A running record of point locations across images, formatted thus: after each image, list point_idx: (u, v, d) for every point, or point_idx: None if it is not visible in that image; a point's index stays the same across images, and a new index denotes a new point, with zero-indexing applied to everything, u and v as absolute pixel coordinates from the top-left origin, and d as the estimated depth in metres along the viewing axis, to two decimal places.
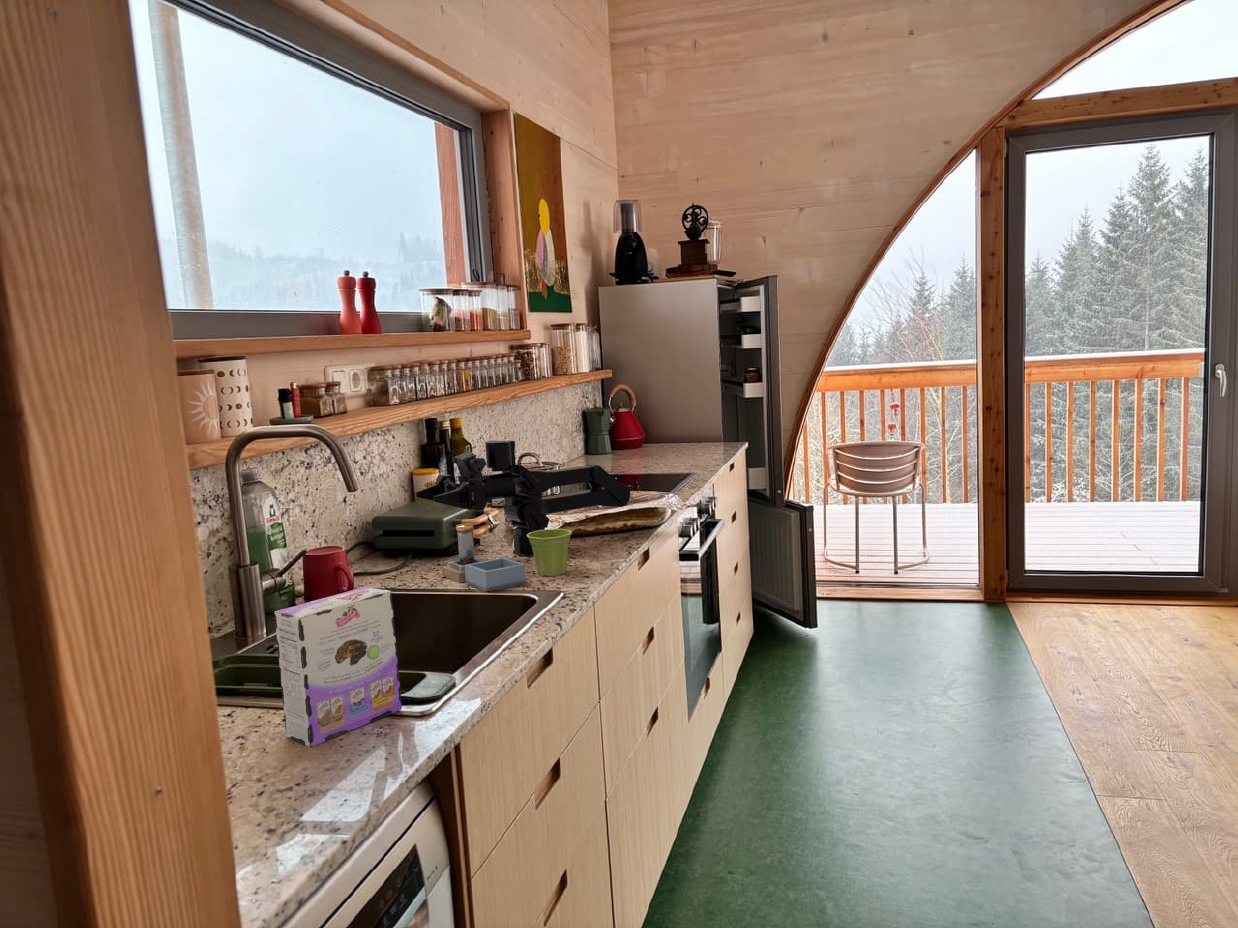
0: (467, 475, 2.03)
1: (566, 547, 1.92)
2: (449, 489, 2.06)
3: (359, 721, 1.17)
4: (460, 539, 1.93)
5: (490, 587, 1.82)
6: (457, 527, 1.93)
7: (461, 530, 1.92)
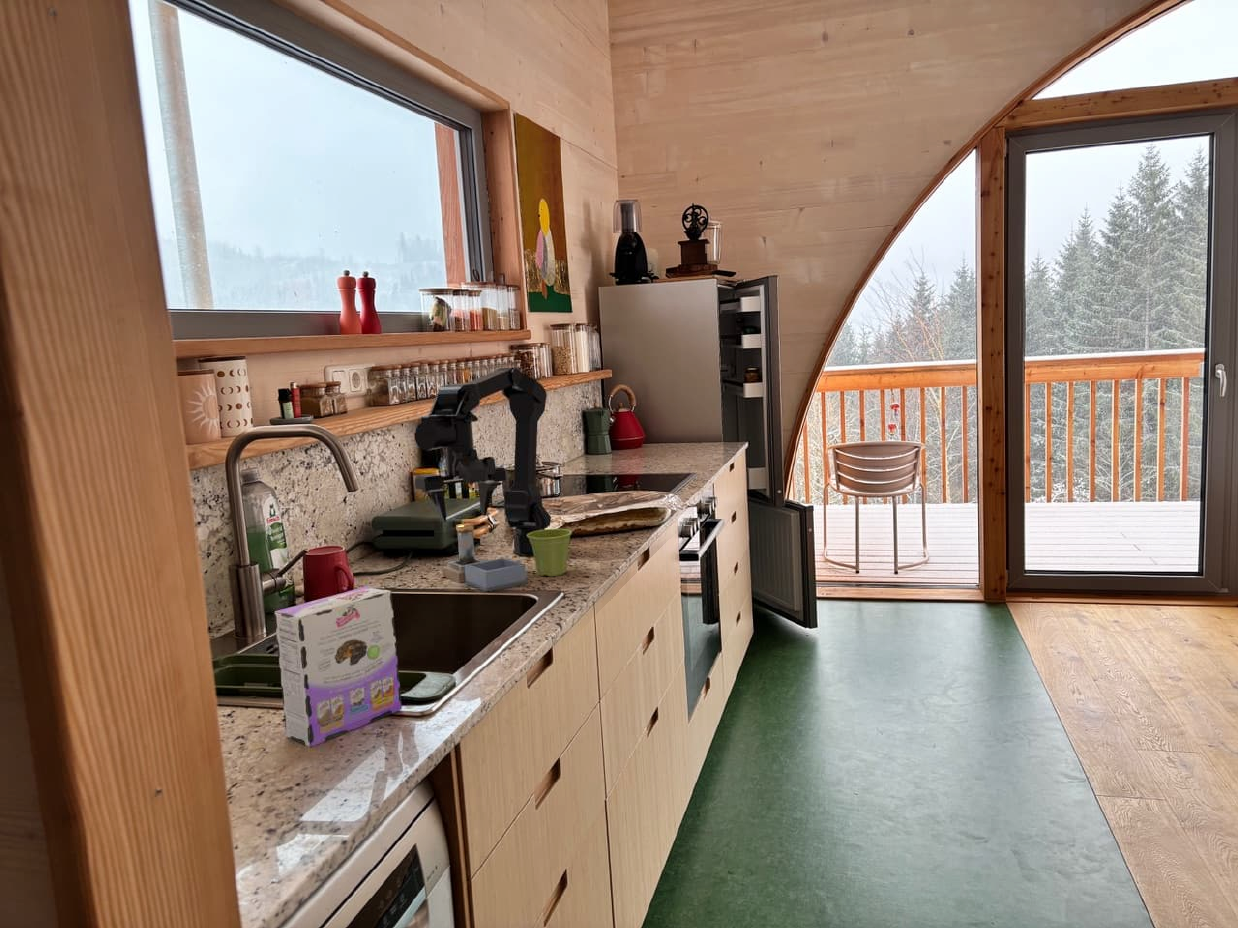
0: None
1: (566, 547, 1.92)
2: (443, 484, 1.90)
3: (359, 721, 1.17)
4: (460, 539, 1.93)
5: (490, 587, 1.82)
6: (457, 527, 1.93)
7: (461, 530, 1.92)
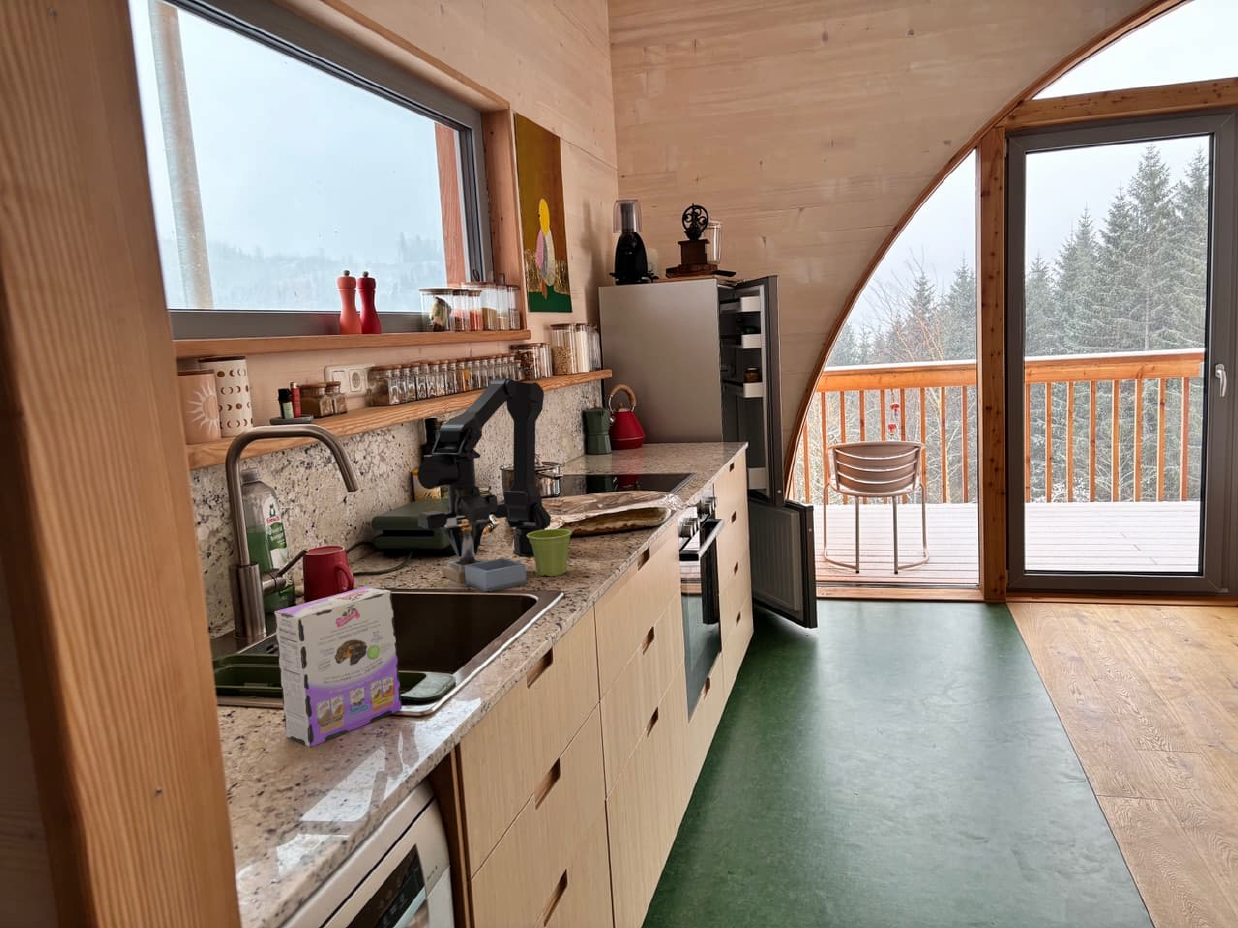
0: None
1: (566, 547, 1.92)
2: None
3: (359, 721, 1.17)
4: (460, 539, 1.93)
5: (490, 587, 1.82)
6: None
7: (461, 530, 1.92)
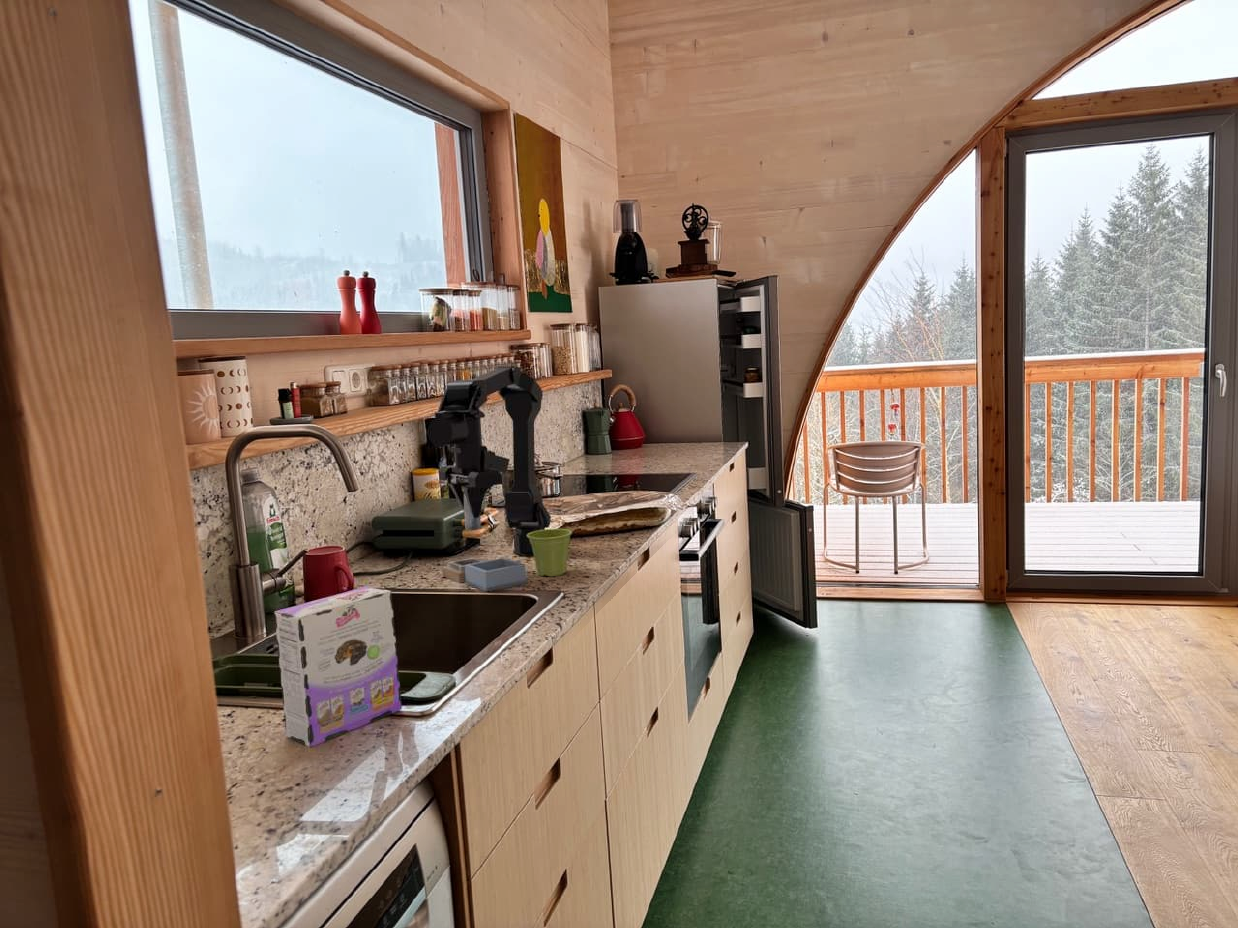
0: None
1: (566, 547, 1.92)
2: None
3: (359, 721, 1.17)
4: None
5: (490, 587, 1.82)
6: None
7: None
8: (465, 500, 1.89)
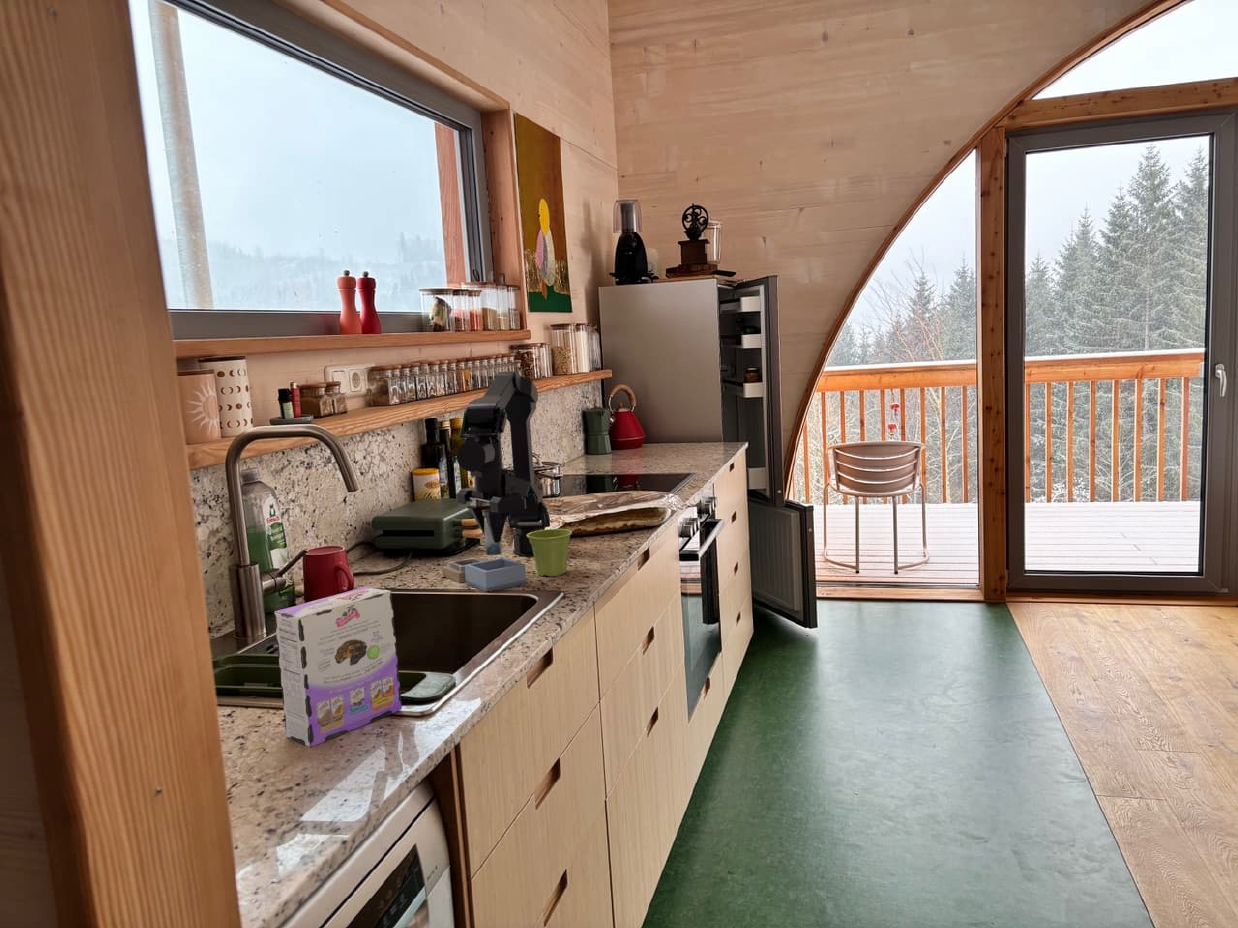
0: None
1: (566, 547, 1.92)
2: None
3: (359, 721, 1.17)
4: None
5: (490, 587, 1.82)
6: None
7: None
8: (486, 524, 1.85)
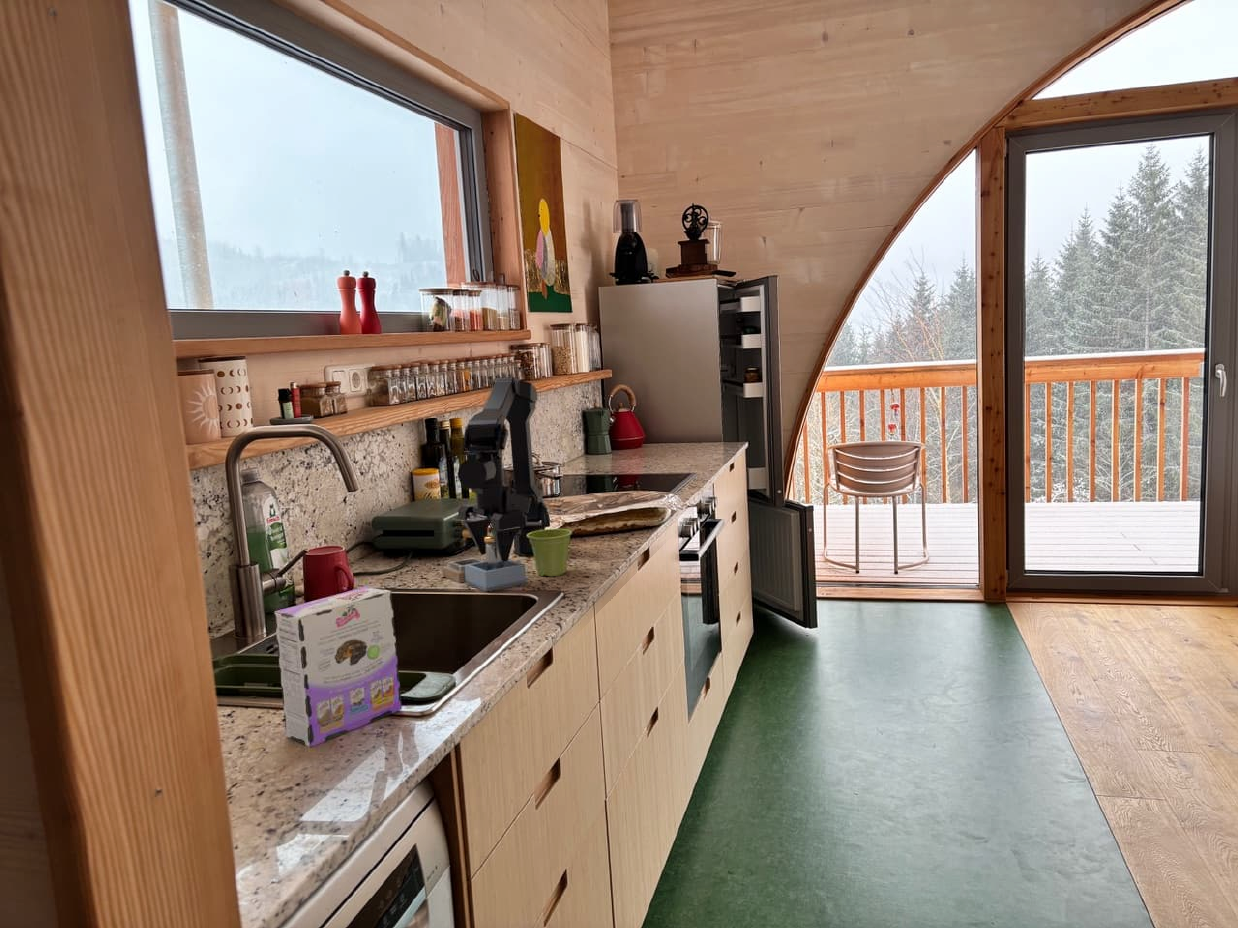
0: None
1: (566, 547, 1.92)
2: None
3: (359, 721, 1.17)
4: None
5: (490, 587, 1.82)
6: None
7: None
8: (487, 551, 1.85)
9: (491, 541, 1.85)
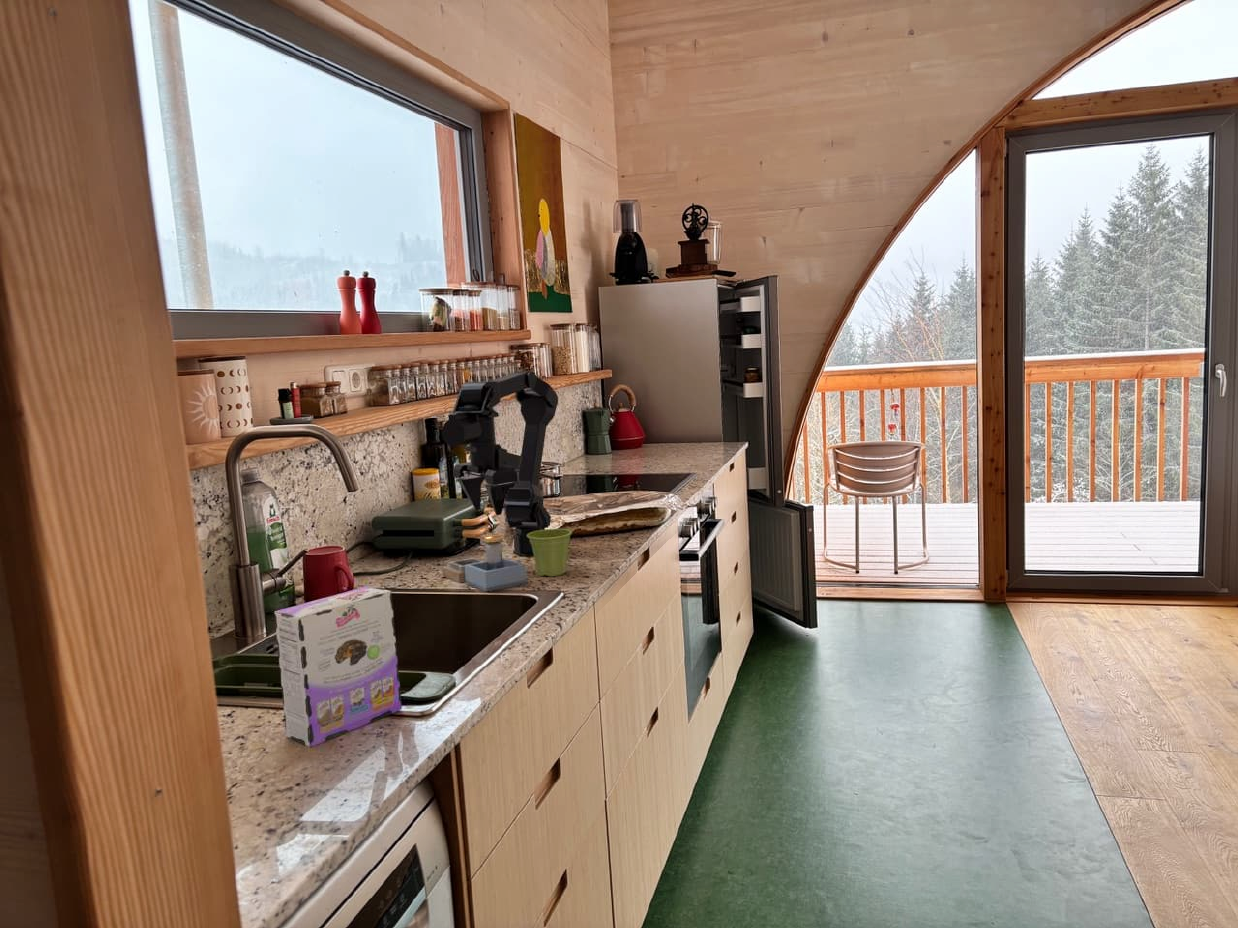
0: None
1: (566, 547, 1.92)
2: None
3: (359, 721, 1.17)
4: (499, 550, 1.86)
5: (490, 587, 1.82)
6: (497, 538, 1.85)
7: (501, 540, 1.86)
8: (488, 551, 1.85)
9: (491, 541, 1.84)
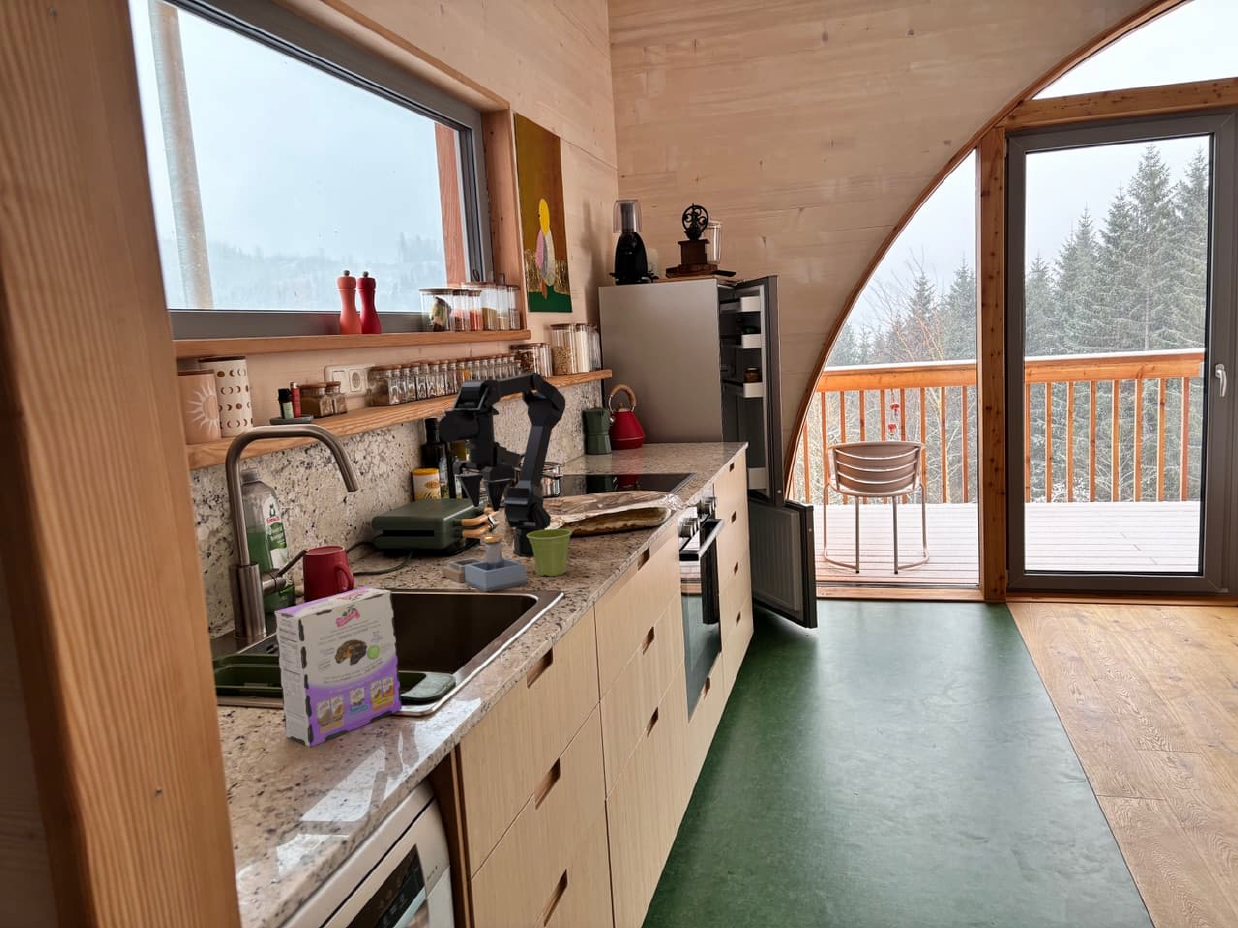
0: None
1: (566, 547, 1.92)
2: None
3: (359, 721, 1.17)
4: (499, 550, 1.86)
5: (490, 587, 1.82)
6: (497, 538, 1.85)
7: (500, 540, 1.86)
8: (487, 551, 1.85)
9: (491, 541, 1.84)
